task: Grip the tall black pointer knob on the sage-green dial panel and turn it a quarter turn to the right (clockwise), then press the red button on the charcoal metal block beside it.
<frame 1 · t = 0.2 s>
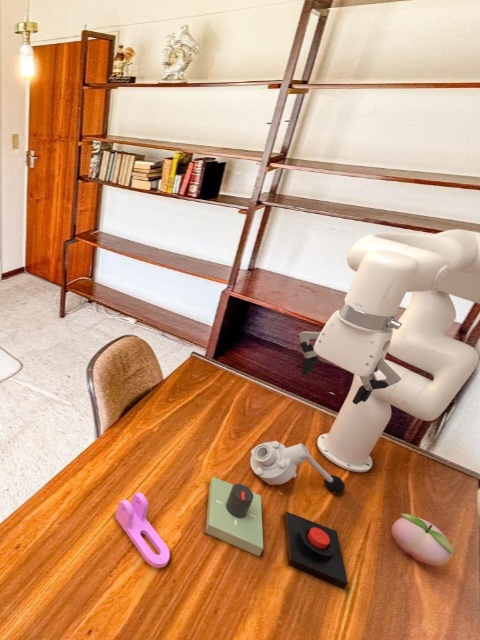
hand: (330, 386, 81), 37 cm above the table, tool pointing down, fingers open, 9 cm apart
button block: (311, 550, 88), on the table
bracket: (143, 538, 89), on the table
dial knob: (239, 500, 91), point 6 cm above the table, hinge at 0.0°
valve: (291, 480, 104), on the table
red button: (318, 538, 86), point 4 cm above the table, slide at 0.1 cm
decorative fruit: (409, 553, 88), on the table
dial panel: (232, 517, 94), on the table
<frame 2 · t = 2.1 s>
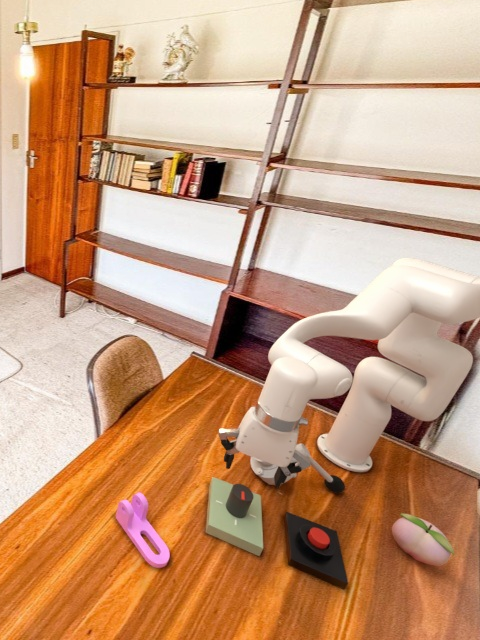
hand: (251, 473, 87), 15 cm above the table, tool pointing down, fingers open, 9 cm apart
nothing on the table moved.
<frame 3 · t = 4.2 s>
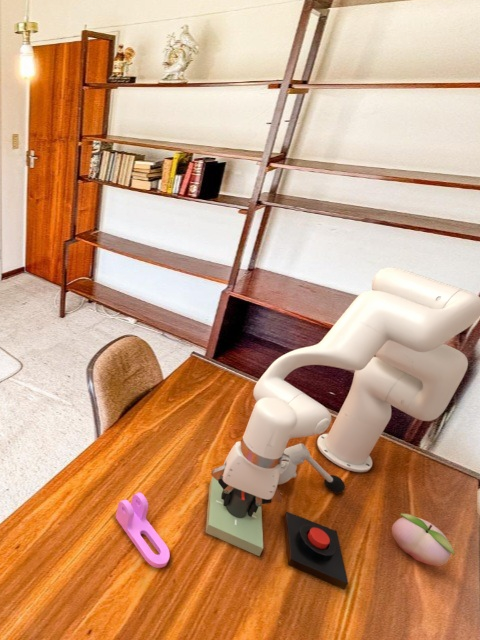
hand: (237, 505, 92), 4 cm above the table, tool pointing down, fingers closed on dial knob, 4 cm apart
dial knob: (239, 500, 91), point 6 cm above the table, hinge at -0.1°, touching gripper
everything else where it was.
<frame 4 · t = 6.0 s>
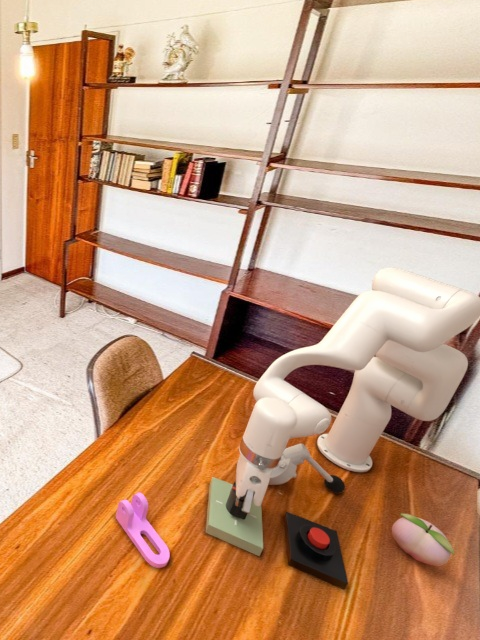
hand: (237, 505, 92), 4 cm above the table, tool pointing down, fingers closed on dial knob, 4 cm apart
dial knob: (239, 500, 91), point 6 cm above the table, hinge at -90.3°, touching gripper
everything else where it was.
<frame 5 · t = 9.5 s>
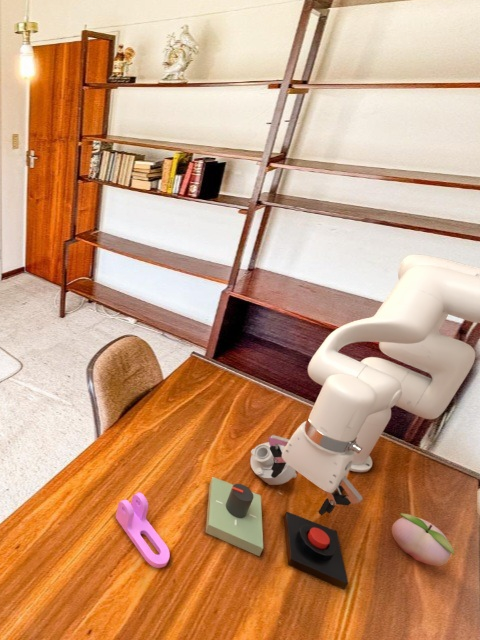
hand: (298, 492, 84), 15 cm above the table, tool pointing down, fingers open, 9 cm apart
dial knob: (239, 500, 91), point 6 cm above the table, hinge at -89.0°
everything else where it was.
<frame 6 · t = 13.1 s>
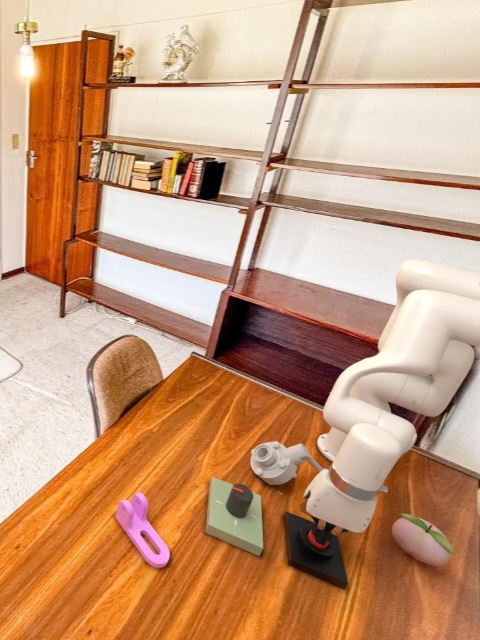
hand: (318, 537, 85), 5 cm above the table, tool pointing down, fingers closed
red button: (317, 539, 86), point 4 cm above the table, slide at -0.5 cm, touching gripper
everything else where it was.
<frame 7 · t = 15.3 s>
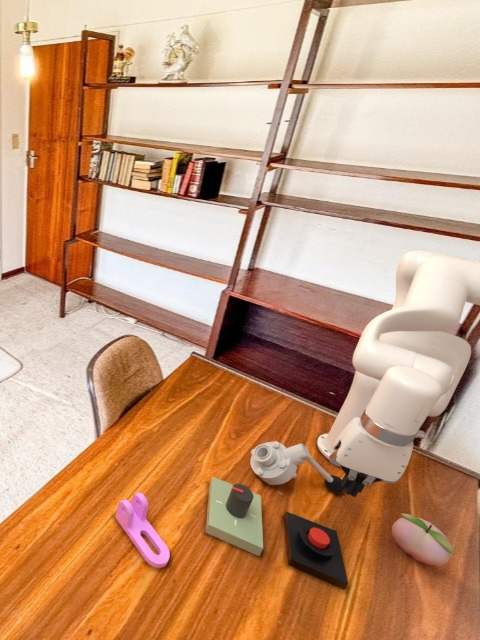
hand: (348, 489, 82), 17 cm above the table, tool pointing down, fingers closed
red button: (318, 538, 86), point 4 cm above the table, slide at 0.1 cm
everything else where it was.
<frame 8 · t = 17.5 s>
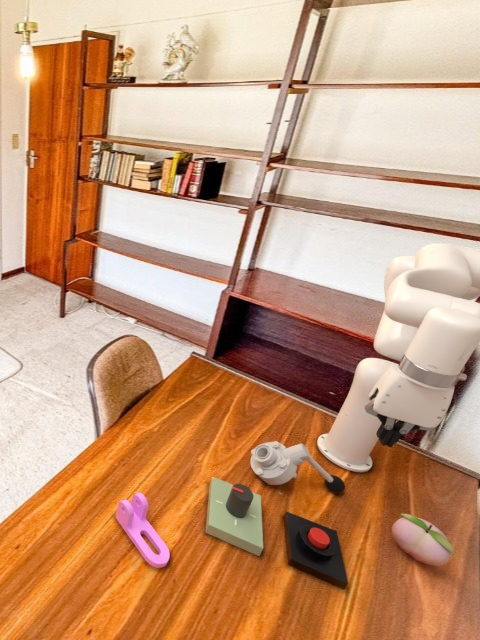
hand: (384, 441, 82), 27 cm above the table, tool pointing down, fingers closed
nothing on the table moved.
at the end: dial knob at -89° (first picture: +0°); red button pushed in 1.1 cm at the most during the clip, back to where it started at the end; red button slide at 0.1 cm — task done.
